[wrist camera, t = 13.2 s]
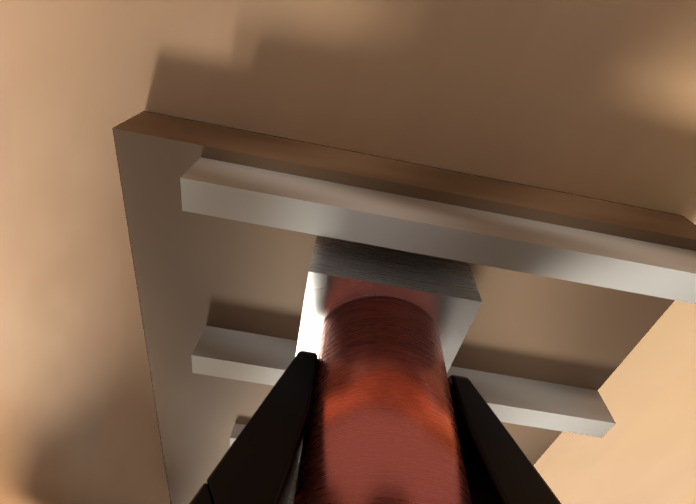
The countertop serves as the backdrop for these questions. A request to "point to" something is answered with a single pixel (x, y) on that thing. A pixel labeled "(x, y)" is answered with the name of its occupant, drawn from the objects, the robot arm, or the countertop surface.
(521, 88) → the countertop surface
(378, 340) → the lever
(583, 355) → the base
